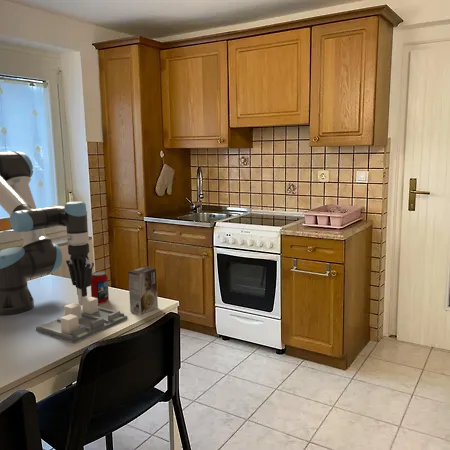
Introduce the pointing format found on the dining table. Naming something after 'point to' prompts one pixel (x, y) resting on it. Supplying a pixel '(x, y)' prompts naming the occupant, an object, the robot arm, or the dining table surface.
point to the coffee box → (143, 290)
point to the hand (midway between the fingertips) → (82, 303)
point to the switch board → (84, 324)
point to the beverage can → (99, 286)
